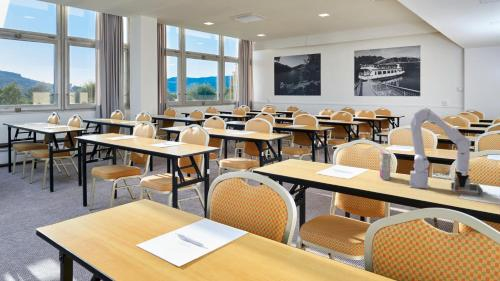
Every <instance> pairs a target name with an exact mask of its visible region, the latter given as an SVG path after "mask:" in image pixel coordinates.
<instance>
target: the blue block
mask: <svg viewBox="0 0 500 281" xmlns="http://www.w3.org/2000/svg"><path fill="white" fill-rule="evenodd" d="M453 183H454V190H462V191H470V184H471V179H470V177H468V179H467V180H466V183H465V187H460V186H459V179H458V177H457V176H454V180H453Z"/></svg>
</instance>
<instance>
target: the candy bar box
mask: <svg viewBox="0 0 500 281" xmlns="http://www.w3.org/2000/svg"><path fill="white" fill-rule="evenodd" d="M391 155H392V154H391V153H390V152H389V151H388V150H380V152H379V178H380V179H381V178H382V179H383V180H382V179H381V180H382V181H391V161H392V160H391V157H392V156H391Z"/></svg>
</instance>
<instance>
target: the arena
mask: <svg viewBox="0 0 500 281" xmlns="http://www.w3.org/2000/svg"><path fill="white" fill-rule="evenodd" d="M450 190H451V192H452V191H453V192H452V193H453V195H459V194H463V195H462V196H471V195H476V196H475V197H483V191H484V190H483V188H482V187H481V186H480V185H479V183H478V184H477V183H470V191H462V190H454V182H453V181H452V182H451V183H450Z"/></svg>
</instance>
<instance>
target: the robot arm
mask: <svg viewBox="0 0 500 281" xmlns="http://www.w3.org/2000/svg"><path fill="white" fill-rule="evenodd" d="M426 121H427V122H431V123H434V124H435V125H436V126H438V127H439V128H440V129H441V130H442V131H444V133H445V136H446V137H447V138H448V139H449V140H450V141H452V143H454V144H455V145H456V147H457V154H456V165H455V166H456V168H455V174H456V177H458V179H459V186H460V187H465V183H466V180H467V179H468V178H470V174H468V173H469V172H472V169H471V168H469V167H470V158H471V157H470V154H471V153H470V147H471V146H472V141H471V140H470V138H469V137H467V136H466V135H463V134H462V133H461V132H460V131H459V129H458V128H455V127H450V126H449V125H448V124H447V123H446V122H445V121H444V120H443V119H442V118H441V117H440V116H438V115H437V114H436V113H435V112H434V111H432V110H431V109H430V108H428V107H427V108H426V107H425V108H420V109H418V110H417V111H416V112H415V113H414V114H413V118H412V119H411V122H410V132H411V138H412V144H413V149H414V161H413V162H414V163H413V168H414V170H410V172H409V173H410V175H409V180H408V182H409V183H408V184H409V187H410V188H413V189H414V188H415V189H426V190H427V189H429V188H430V187H429V181H428V180H429V169H428V168H429V167H430V161H429V160H428V157H427V154H426V153H425V152H426V151H425V145H424V139H423V133H422V125H423V124H424V123H425V122H426Z"/></svg>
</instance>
